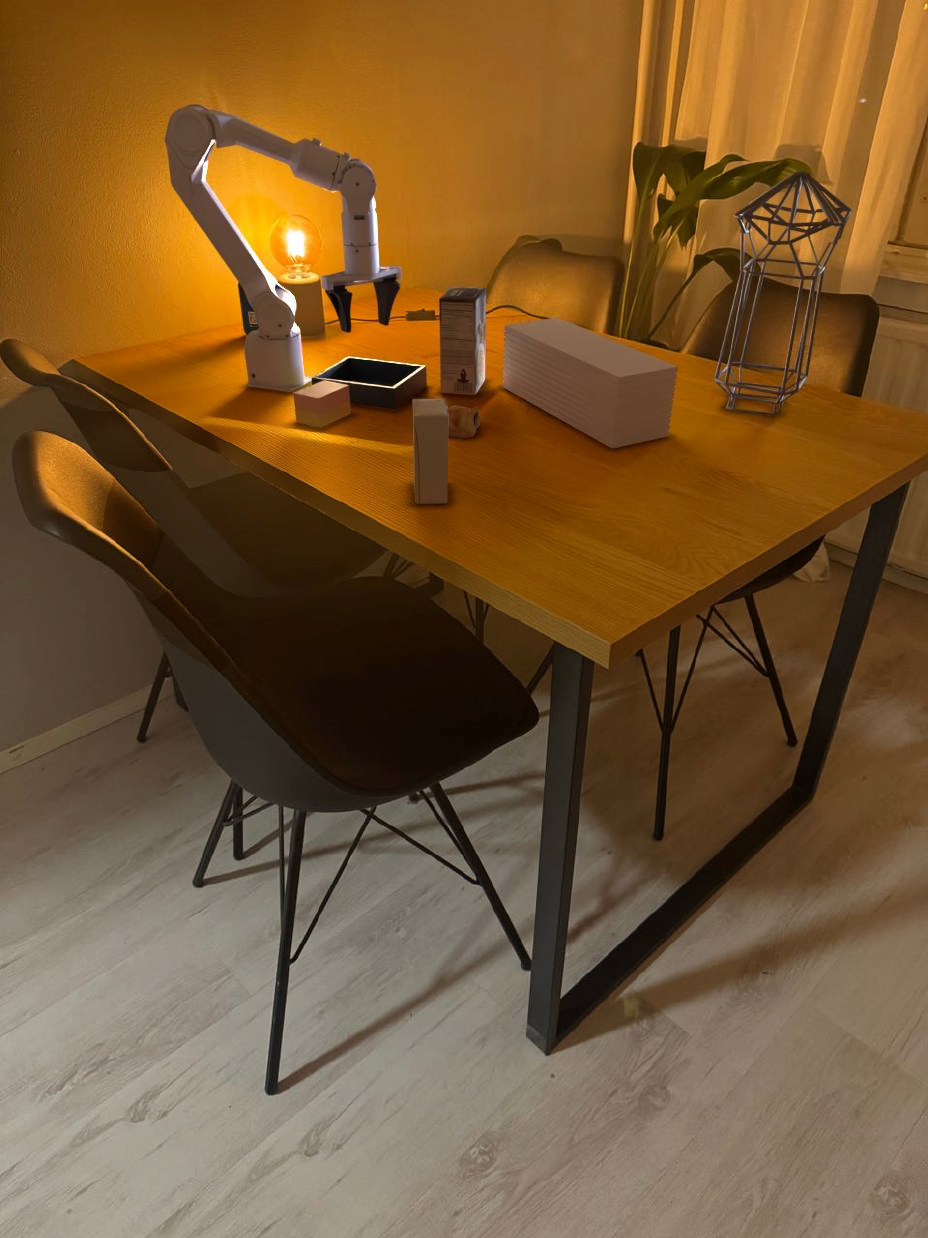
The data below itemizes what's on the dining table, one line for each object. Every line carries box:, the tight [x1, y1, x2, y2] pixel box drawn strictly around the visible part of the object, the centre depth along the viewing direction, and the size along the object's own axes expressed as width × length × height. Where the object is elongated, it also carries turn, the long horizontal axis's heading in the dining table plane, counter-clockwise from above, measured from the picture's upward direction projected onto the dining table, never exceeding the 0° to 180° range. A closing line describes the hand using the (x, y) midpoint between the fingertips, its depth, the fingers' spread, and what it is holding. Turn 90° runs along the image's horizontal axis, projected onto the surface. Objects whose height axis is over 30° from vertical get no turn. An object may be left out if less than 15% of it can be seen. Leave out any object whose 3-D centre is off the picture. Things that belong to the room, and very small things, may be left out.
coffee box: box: [438, 286, 487, 396], centre depth 149 cm, size 9×6×16 cm
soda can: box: [237, 282, 259, 336], centre depth 177 cm, size 7×7×12 cm
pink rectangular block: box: [292, 380, 352, 429], centre depth 138 cm, size 5×8×5 cm, turn 148°
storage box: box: [311, 356, 428, 411], centre depth 149 cm, size 15×13×4 cm
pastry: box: [447, 405, 482, 439], centre depth 135 cm, size 9×7×4 cm
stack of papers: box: [502, 317, 679, 449], centre depth 140 cm, size 32×11×11 cm, turn 28°
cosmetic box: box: [412, 397, 449, 505], centre depth 112 cm, size 6×4×12 cm
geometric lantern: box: [713, 170, 853, 416], centre depth 136 cm, size 16×16×35 cm
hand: (365, 327), depth 151 cm, fingers open, 7 cm apart
